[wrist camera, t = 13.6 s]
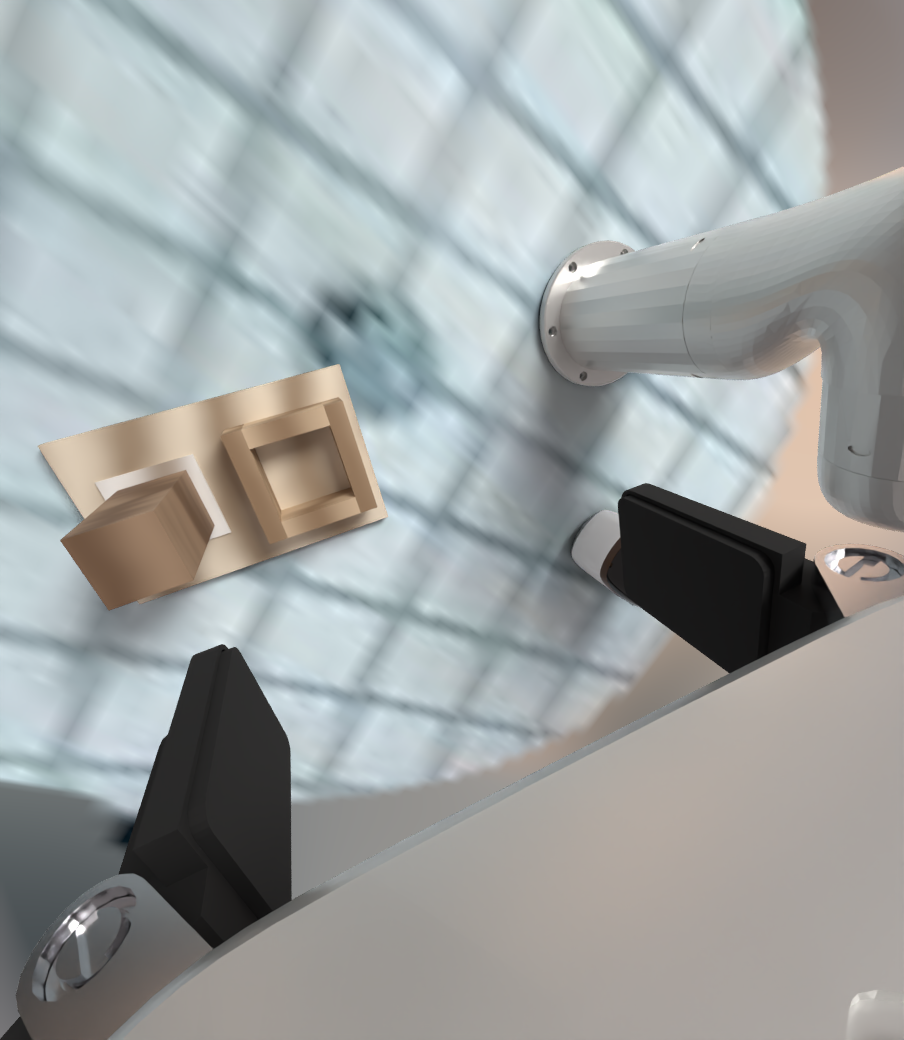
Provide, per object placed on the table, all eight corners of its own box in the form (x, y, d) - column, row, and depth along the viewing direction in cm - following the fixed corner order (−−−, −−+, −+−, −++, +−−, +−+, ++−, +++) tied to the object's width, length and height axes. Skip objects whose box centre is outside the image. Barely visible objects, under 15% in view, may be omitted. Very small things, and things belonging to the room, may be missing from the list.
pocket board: (338, 364, 38) (343, 366, 34) (386, 513, 43) (395, 528, 40) (44, 443, 33) (15, 454, 29) (142, 598, 39) (128, 623, 35)
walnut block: (185, 469, 35) (153, 510, 27) (214, 525, 37) (193, 580, 29) (117, 490, 34) (60, 540, 25) (151, 546, 36) (108, 610, 28)
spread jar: (552, 550, 52) (619, 600, 41) (610, 467, 50) (694, 498, 40) (614, 589, 57) (687, 643, 47) (669, 516, 56) (755, 554, 46)
